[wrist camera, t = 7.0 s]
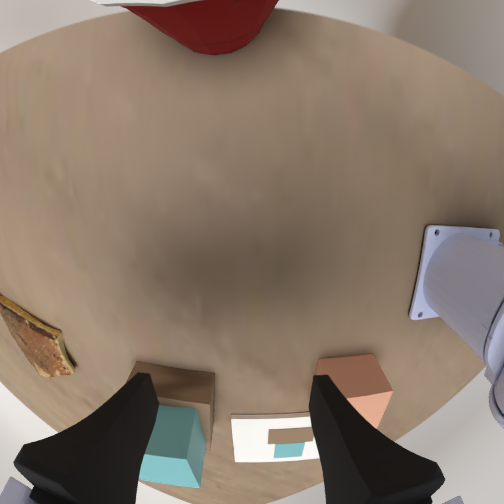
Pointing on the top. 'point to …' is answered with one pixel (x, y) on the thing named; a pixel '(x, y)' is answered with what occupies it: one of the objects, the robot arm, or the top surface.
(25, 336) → the shard
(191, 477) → the teal block
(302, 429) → the card
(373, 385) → the terracotta block
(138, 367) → the walnut block
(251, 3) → the plastic cup
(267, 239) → the top surface
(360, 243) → the top surface
